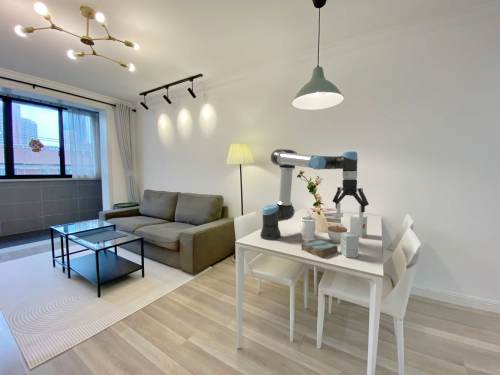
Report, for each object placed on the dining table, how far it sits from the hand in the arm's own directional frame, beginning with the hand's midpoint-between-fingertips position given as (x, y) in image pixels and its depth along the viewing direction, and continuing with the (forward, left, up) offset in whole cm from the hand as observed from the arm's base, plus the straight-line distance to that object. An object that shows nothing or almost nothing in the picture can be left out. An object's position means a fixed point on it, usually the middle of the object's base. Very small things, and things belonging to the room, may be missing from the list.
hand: (349, 216), depth 124 cm
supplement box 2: (-17, +40, -23) cm, 49 cm away
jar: (-33, +3, -23) cm, 40 cm away
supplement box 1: (0, +1, -23) cm, 23 cm away
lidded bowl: (-19, +17, -23) cm, 34 cm away
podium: (-14, -8, -23) cm, 28 cm away
